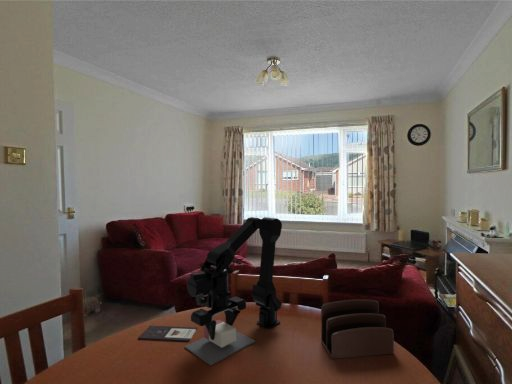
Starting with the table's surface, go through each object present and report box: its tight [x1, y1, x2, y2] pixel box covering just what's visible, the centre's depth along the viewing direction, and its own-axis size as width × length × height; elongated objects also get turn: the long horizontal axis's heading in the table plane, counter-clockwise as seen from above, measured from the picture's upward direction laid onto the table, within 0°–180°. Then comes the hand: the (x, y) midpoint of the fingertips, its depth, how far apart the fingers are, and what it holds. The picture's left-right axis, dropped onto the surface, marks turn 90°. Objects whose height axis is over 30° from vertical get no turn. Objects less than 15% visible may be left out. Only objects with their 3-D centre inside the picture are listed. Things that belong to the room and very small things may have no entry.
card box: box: [203, 319, 237, 348], centre depth 100 cm, size 9×6×4 cm, turn 45°
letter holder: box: [320, 298, 395, 360], centre depth 97 cm, size 10×20×14 cm, turn 97°
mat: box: [184, 330, 256, 367], centre depth 100 cm, size 18×14×1 cm
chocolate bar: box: [137, 325, 198, 343], centre depth 108 cm, size 9×1×18 cm
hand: (220, 335), depth 100 cm, fingers closed on card box, 6 cm apart
